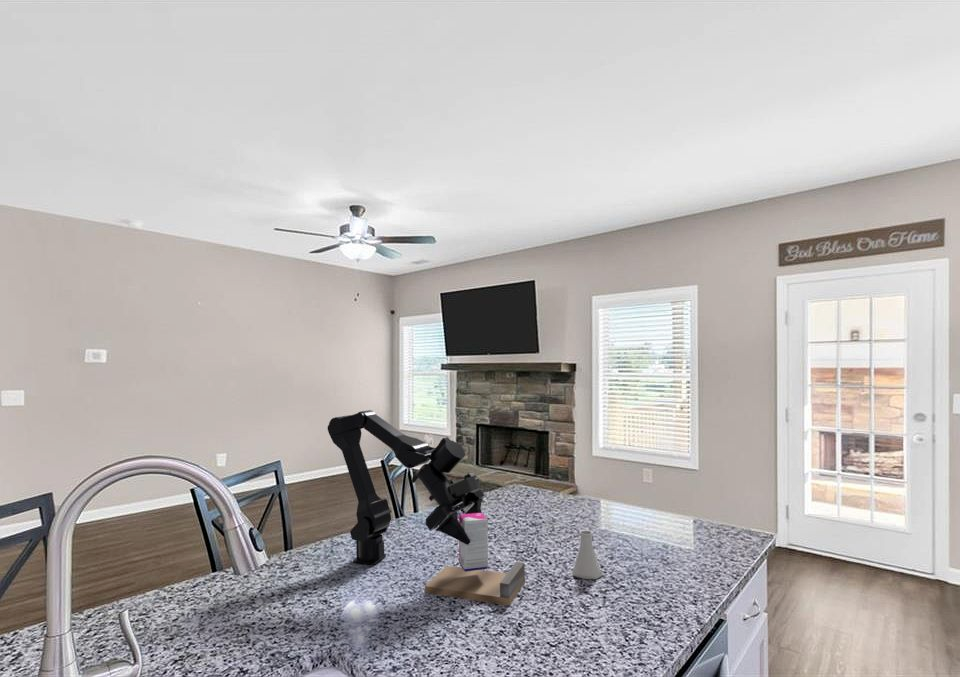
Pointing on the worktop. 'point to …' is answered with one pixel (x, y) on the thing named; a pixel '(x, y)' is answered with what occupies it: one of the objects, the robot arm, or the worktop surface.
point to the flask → (586, 558)
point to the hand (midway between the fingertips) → (478, 537)
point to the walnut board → (478, 584)
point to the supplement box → (474, 542)
